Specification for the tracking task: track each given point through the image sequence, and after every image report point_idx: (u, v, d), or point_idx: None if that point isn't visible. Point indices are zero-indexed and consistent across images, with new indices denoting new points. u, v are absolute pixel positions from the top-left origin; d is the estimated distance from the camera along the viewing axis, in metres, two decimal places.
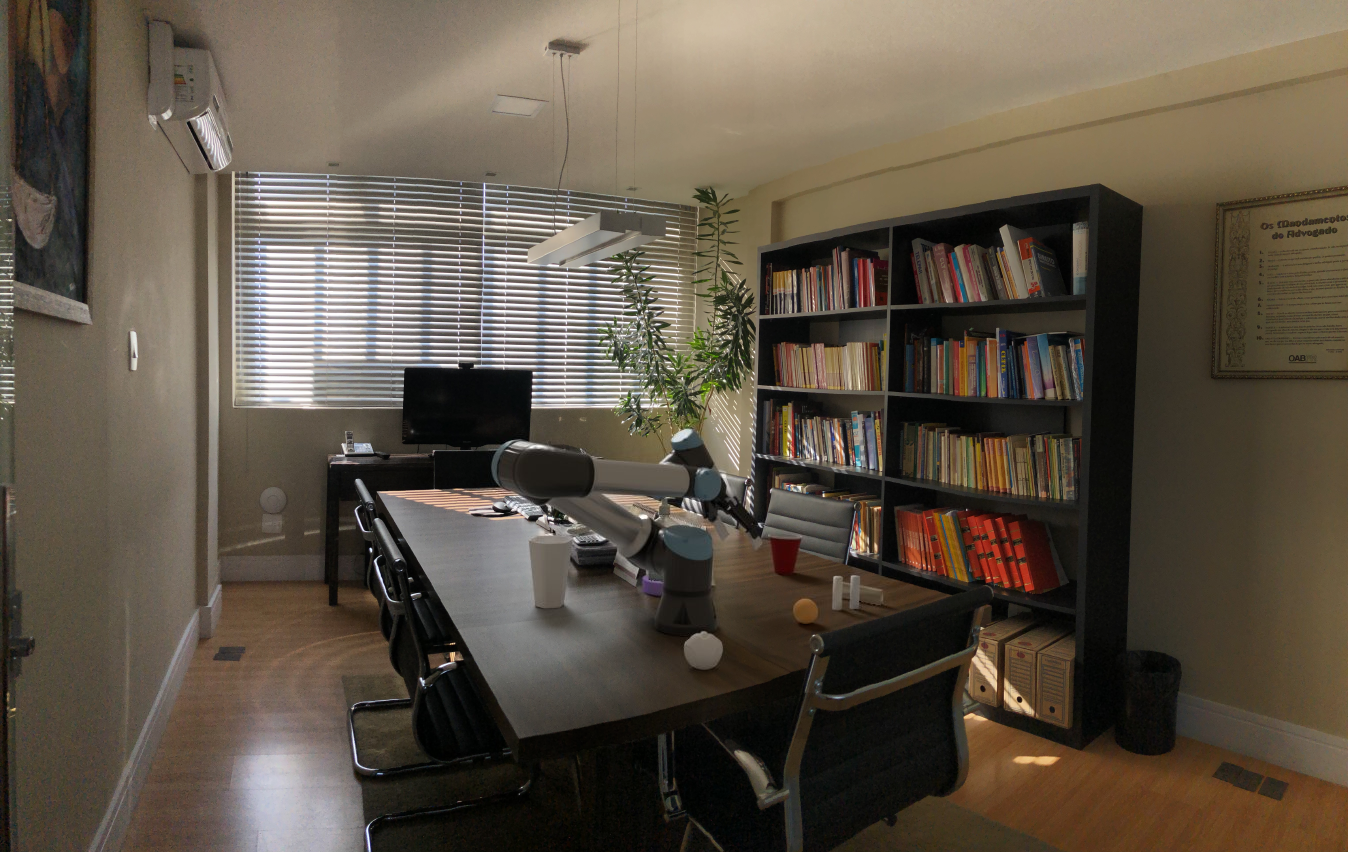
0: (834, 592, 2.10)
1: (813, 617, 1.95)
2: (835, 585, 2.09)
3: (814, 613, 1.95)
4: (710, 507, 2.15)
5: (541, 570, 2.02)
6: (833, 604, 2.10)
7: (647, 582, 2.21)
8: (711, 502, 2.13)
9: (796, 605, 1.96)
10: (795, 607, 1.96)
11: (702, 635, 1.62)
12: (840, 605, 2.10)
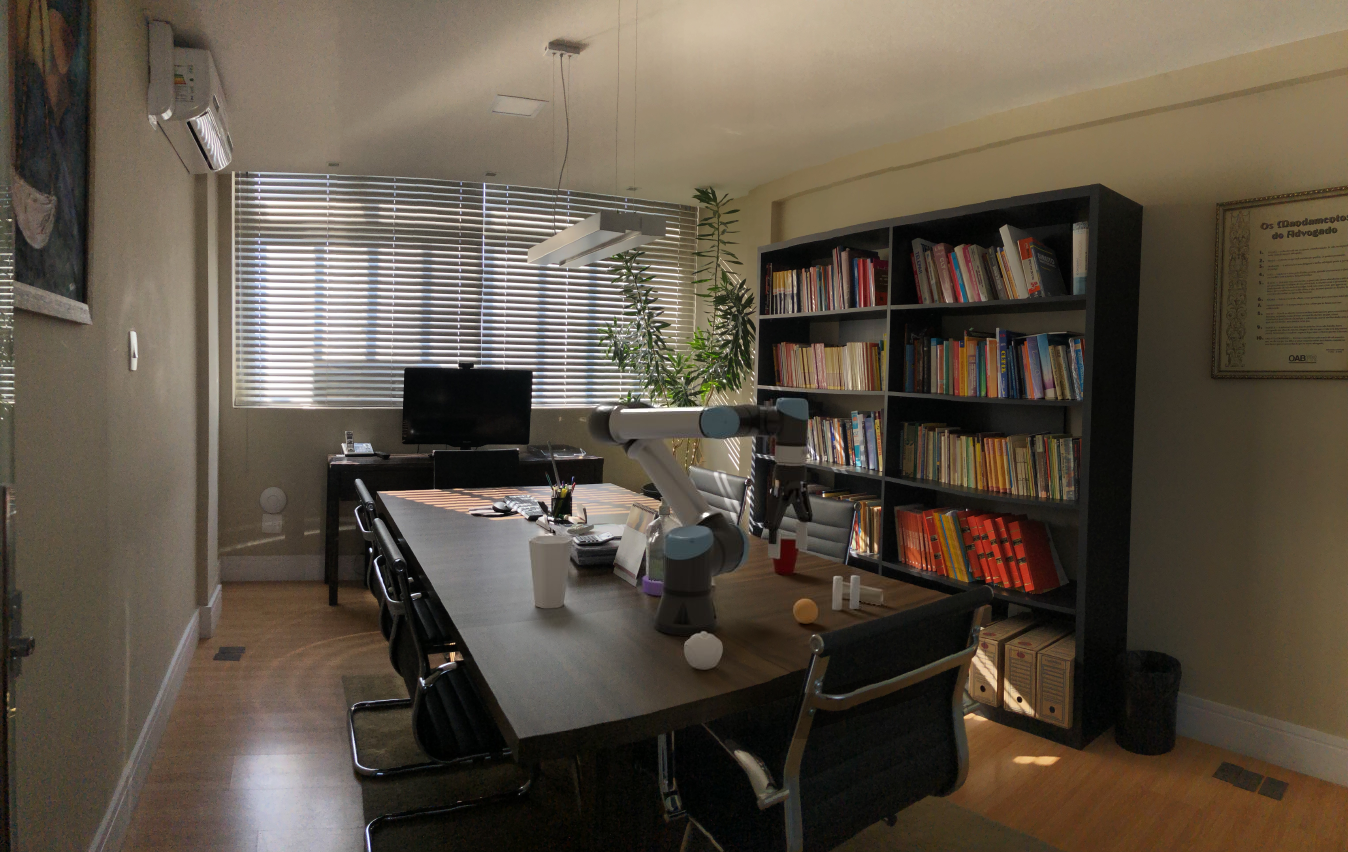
0: (834, 592, 2.10)
1: (813, 617, 1.95)
2: (835, 585, 2.09)
3: (814, 613, 1.95)
4: None
5: (541, 570, 2.02)
6: (833, 604, 2.10)
7: (647, 582, 2.21)
8: None
9: (796, 605, 1.96)
10: (795, 607, 1.96)
11: (702, 635, 1.62)
12: (840, 605, 2.10)
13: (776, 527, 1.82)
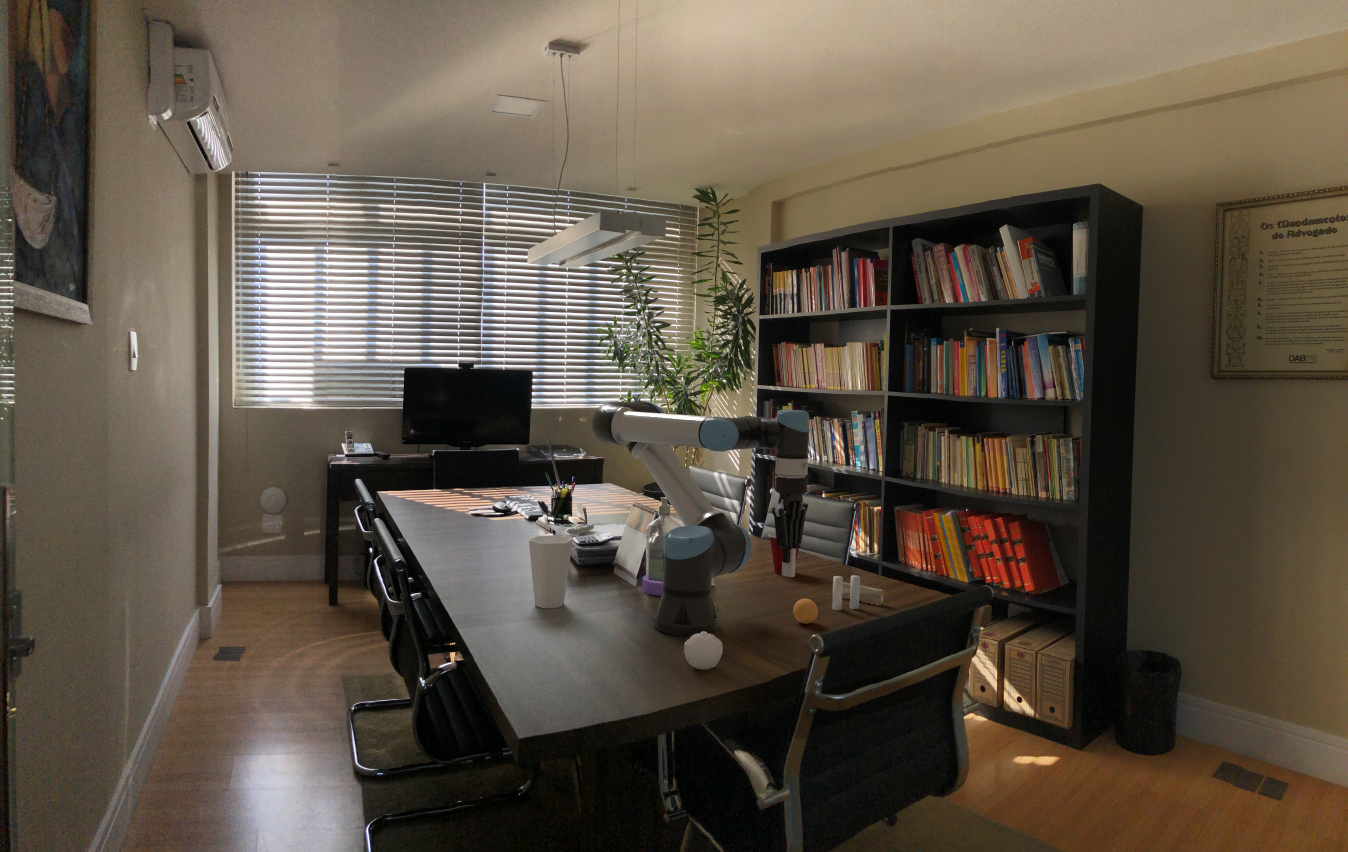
0: (834, 592, 2.10)
1: (813, 617, 1.95)
2: (835, 585, 2.09)
3: (814, 613, 1.95)
4: None
5: (541, 570, 2.02)
6: (833, 604, 2.10)
7: (647, 582, 2.21)
8: None
9: (796, 605, 1.96)
10: (795, 607, 1.96)
11: (702, 635, 1.62)
12: (840, 605, 2.10)
13: (790, 547, 1.87)
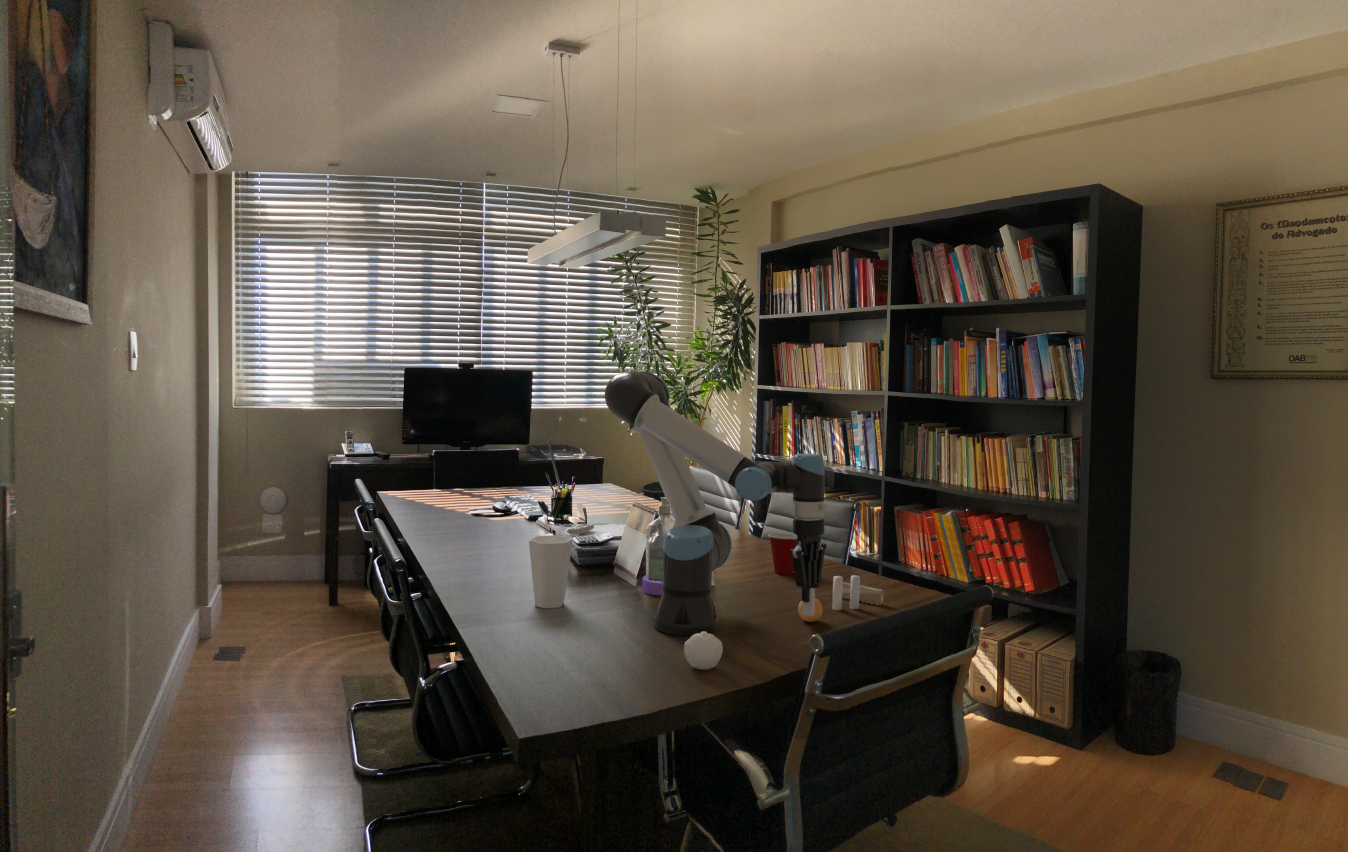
0: (834, 592, 2.10)
1: (817, 613, 1.96)
2: (835, 585, 2.09)
3: (819, 610, 1.97)
4: None
5: (541, 570, 2.02)
6: (833, 604, 2.10)
7: (647, 582, 2.21)
8: None
9: None
10: None
11: (702, 635, 1.62)
12: (840, 605, 2.10)
13: (808, 587, 1.93)
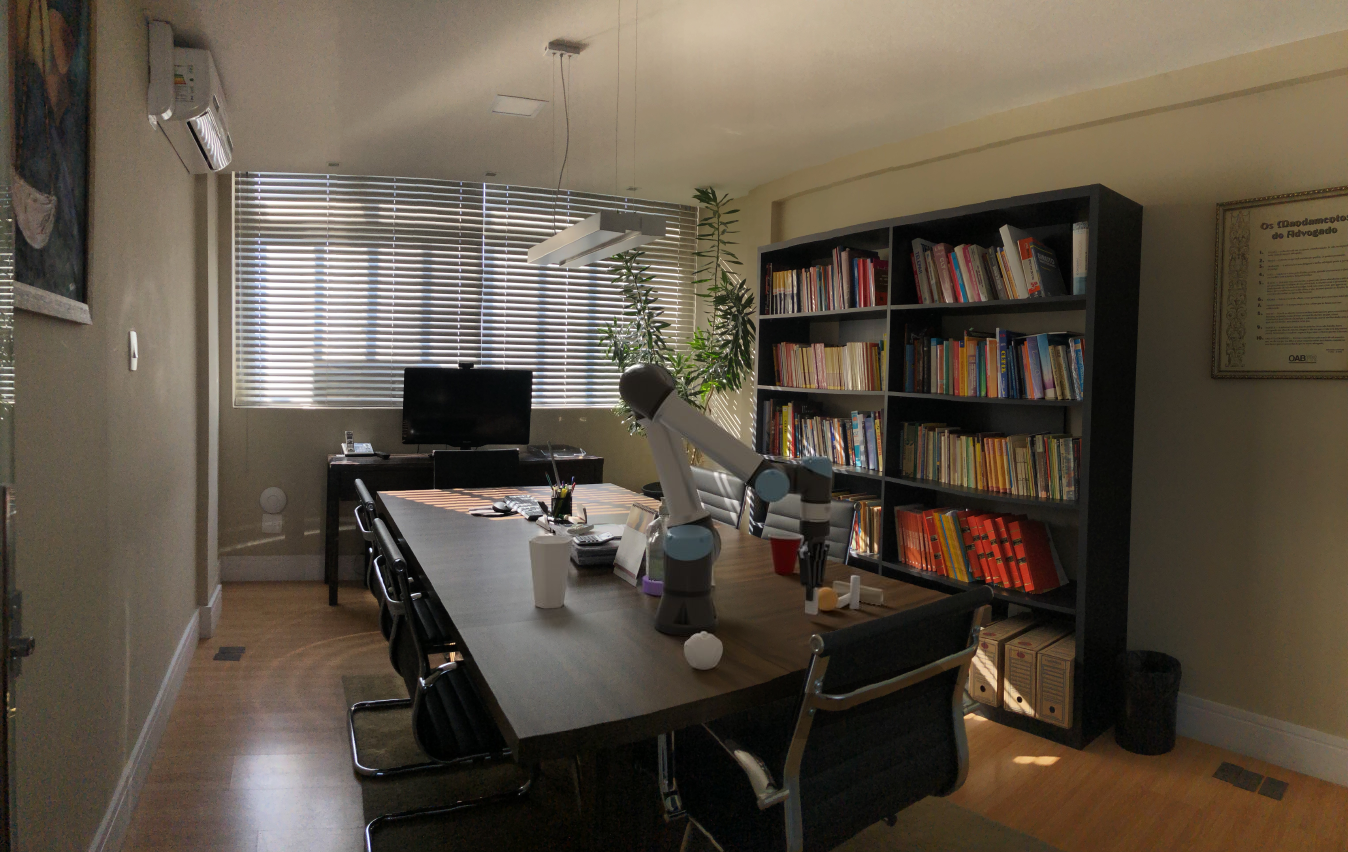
0: None
1: (837, 598, 2.09)
2: (846, 594, 2.17)
3: (837, 599, 2.08)
4: None
5: (541, 570, 2.02)
6: None
7: (647, 582, 2.21)
8: None
9: (823, 609, 2.09)
10: None
11: (702, 635, 1.62)
12: (843, 601, 2.12)
13: (813, 587, 1.97)
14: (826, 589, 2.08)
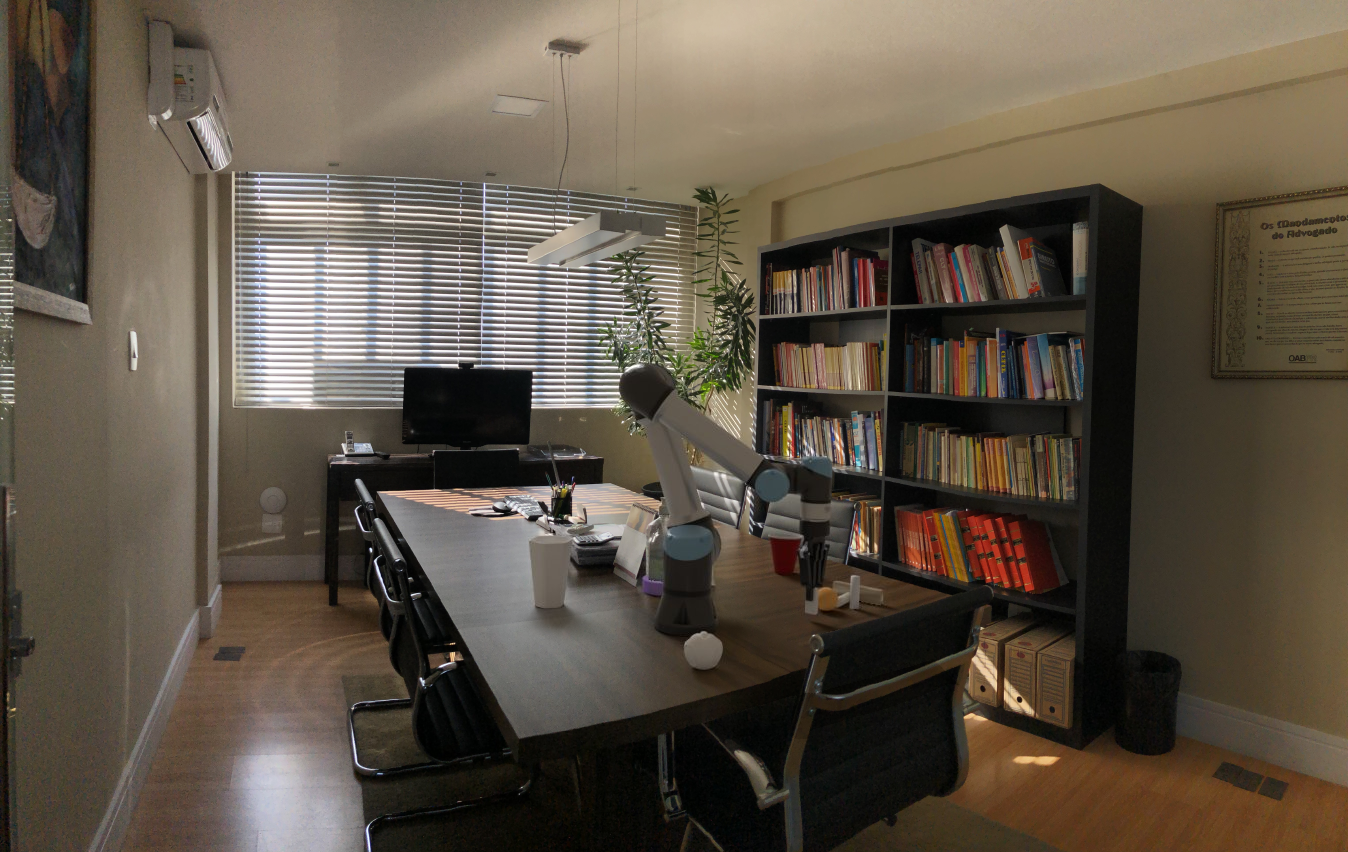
0: None
1: (837, 598, 2.09)
2: None
3: (837, 599, 2.08)
4: None
5: (541, 570, 2.02)
6: None
7: (647, 582, 2.21)
8: None
9: (823, 609, 2.09)
10: None
11: (702, 635, 1.62)
12: (839, 598, 2.13)
13: (813, 587, 1.97)
14: (826, 589, 2.08)
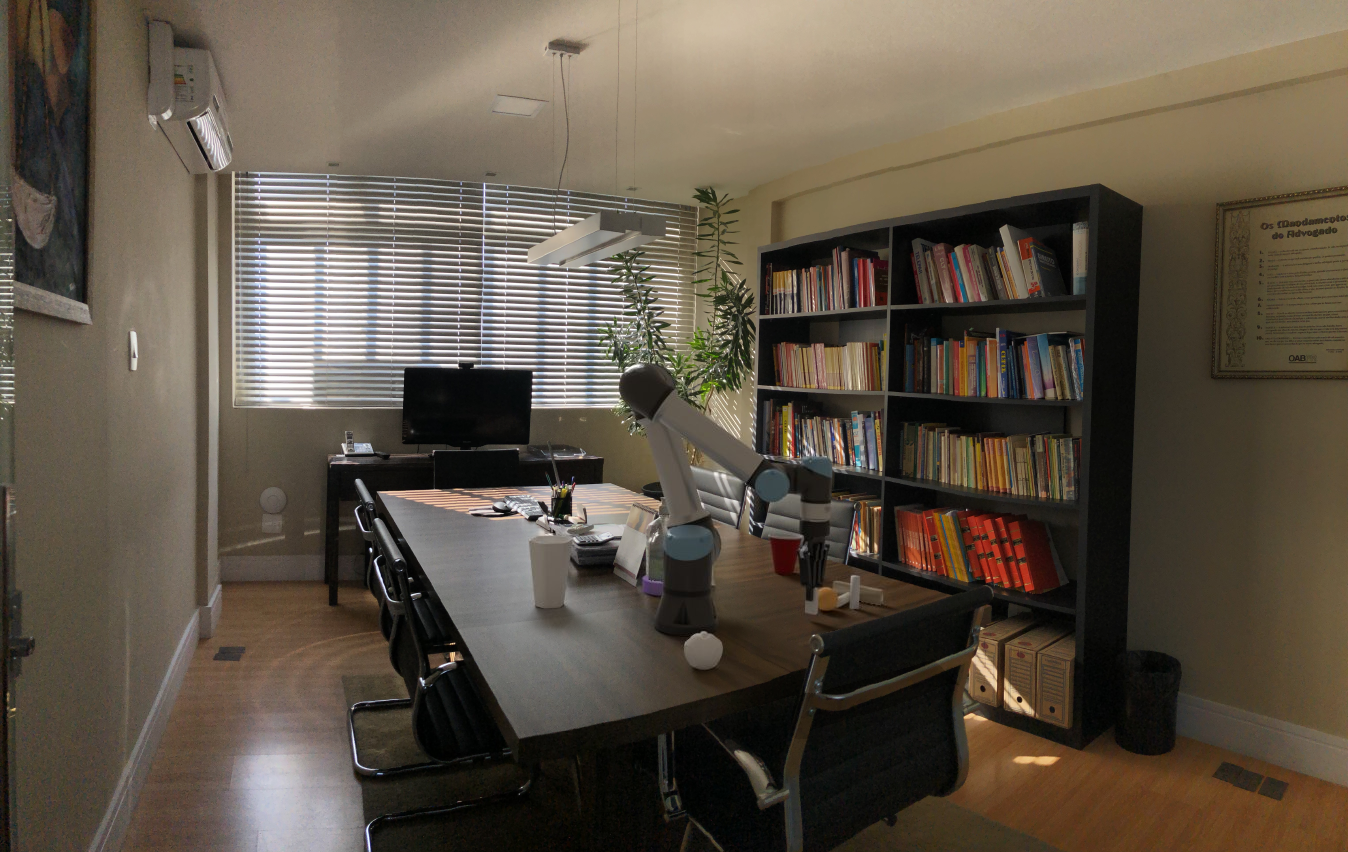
0: None
1: (837, 598, 2.09)
2: None
3: (837, 599, 2.08)
4: None
5: (541, 570, 2.02)
6: None
7: (647, 582, 2.21)
8: None
9: (823, 609, 2.09)
10: None
11: (702, 635, 1.62)
12: (840, 598, 2.13)
13: (813, 587, 1.97)
14: (826, 589, 2.08)
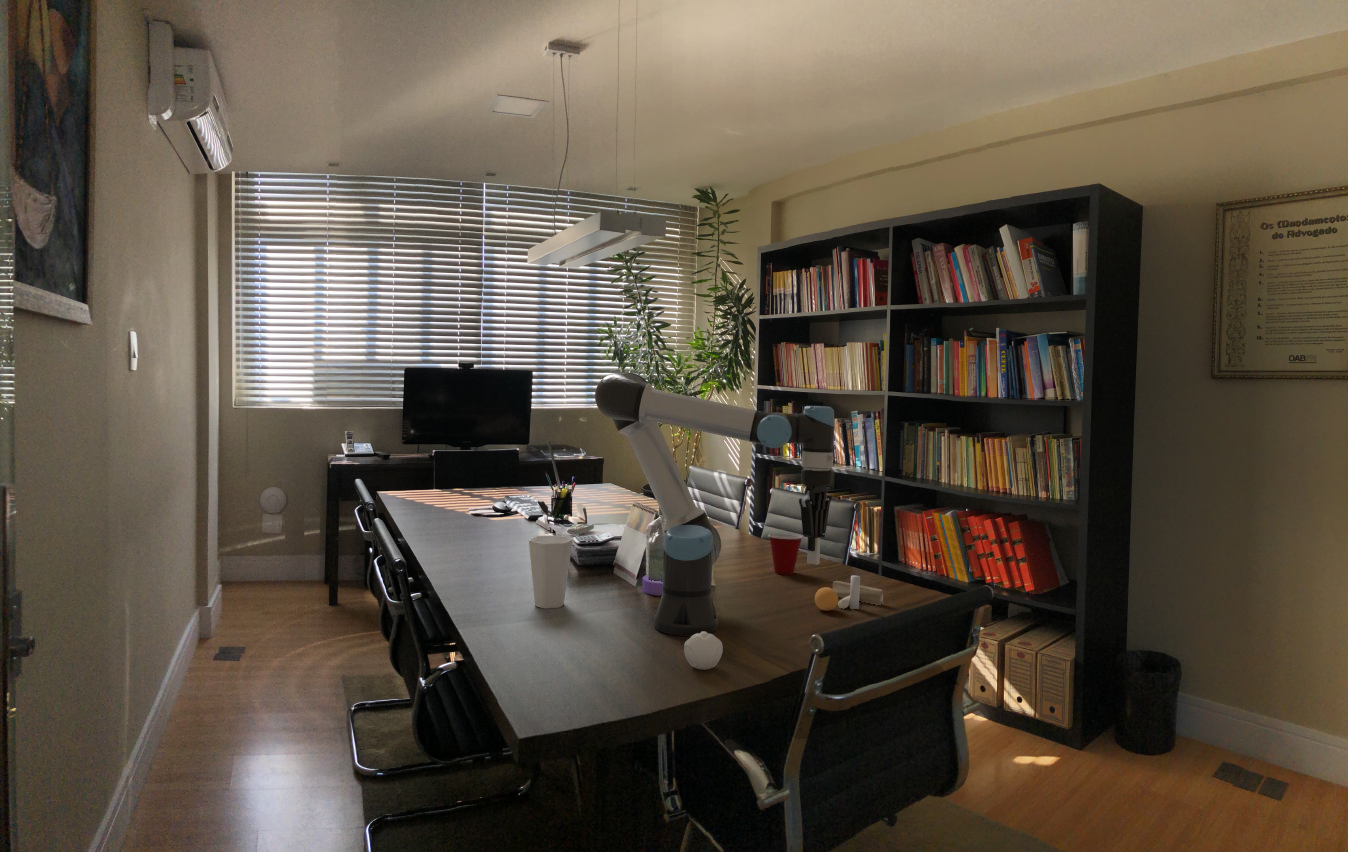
0: None
1: (837, 598, 2.09)
2: None
3: (837, 599, 2.08)
4: None
5: (541, 570, 2.02)
6: (845, 599, 2.12)
7: (647, 582, 2.21)
8: None
9: (823, 609, 2.09)
10: None
11: (702, 635, 1.62)
12: (847, 605, 2.12)
13: (815, 536, 1.97)
14: (826, 589, 2.08)
